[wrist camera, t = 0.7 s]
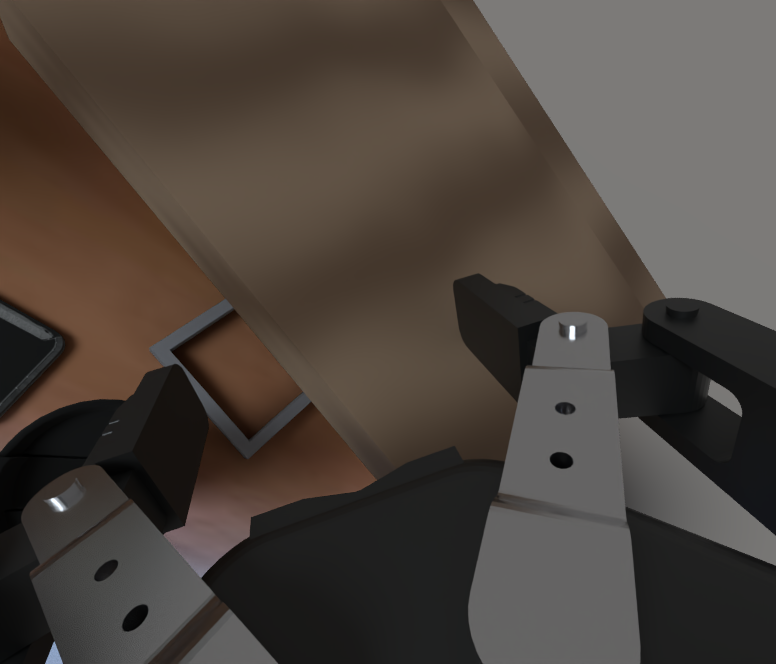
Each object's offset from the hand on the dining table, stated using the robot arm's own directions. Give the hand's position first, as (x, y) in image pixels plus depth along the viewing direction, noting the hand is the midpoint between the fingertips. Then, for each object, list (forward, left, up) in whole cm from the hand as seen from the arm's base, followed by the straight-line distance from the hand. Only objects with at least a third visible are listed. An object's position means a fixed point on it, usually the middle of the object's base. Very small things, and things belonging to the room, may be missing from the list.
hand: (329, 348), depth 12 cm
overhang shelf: (+1, +7, -27) cm, 28 cm away
